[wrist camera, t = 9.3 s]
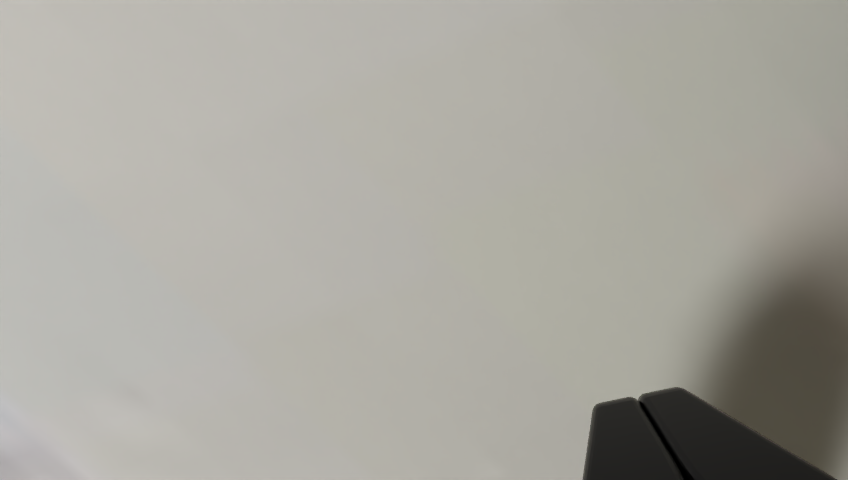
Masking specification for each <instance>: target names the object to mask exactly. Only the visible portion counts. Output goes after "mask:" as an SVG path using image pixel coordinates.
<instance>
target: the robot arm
mask: <svg viewBox="0 0 848 480" xmlns="http://www.w3.org/2000/svg"><path fill="white" fill-rule="evenodd" d="M583 480H837V479H835V478H833V477H832V476H830V475H828V474H827V473H825V472H823V471H822V470H820V469H818V468H817V467H815V466H813V465H811V464H810V463H808V462H806V461H805V460H803V459H801V458H800V457H798V456H796V455H795V454H793V453H791V452H790V451H788V450H786V449H784V448H783V447H781V446H779V445H778V444H776V443H774V442H773V441H771V440H769V439H768V438H766V437H764V436H763V435H761V434H759V433H758V432H756V431H754V430H752V429H751V428H749V427H747V426H746V425H744V424H742V423H741V422H739V421H737V420H736V419H734V418H732V417H731V416H729V415H727V414H726V413H724V412H722V411H720V410H719V409H717V408H715V407H714V406H712V405H710V404H709V403H707V402H705V401H704V400H702V399H700V398H699V397H697V396H695V395H693V394H692V393H690V392H688V391H687V390H685V389H683V388H679V387H673V388H669V389H664V390H659V391H654V392H650V393H645V394H642V395H641V396H640V397H639V399H638V401H637V400H636V399H635V398H632V397H626V398H621V399H617V400H612V401H607V402H602V403H599V404H597V405H595V406H594V408H593V412H592V418H591V425H590V432H589V439H588V446H587V453H586V460H585V467H584V474H583Z"/></svg>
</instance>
